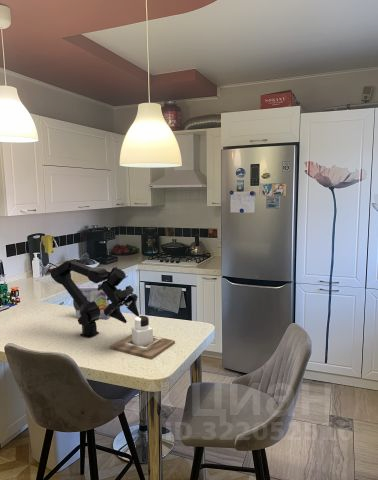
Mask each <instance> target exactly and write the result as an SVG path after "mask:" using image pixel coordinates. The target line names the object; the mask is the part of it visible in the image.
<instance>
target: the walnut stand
mask: <svg viewBox="0 0 378 480" xmlns="http://www.w3.org/2000/svg"><path fill="white" fill-rule="evenodd" d="M175 343H176V340H173V339H168V338H164V337H160V336H155V335H153V343H151V344H150V345H147V346H143V347H142V346H138V345H135V344H134V343H133V342H132V333H131V334H130V335H128V336H126V337H124V338H123V339H121V340H119V341H117V342H115V343H114V344H112V345H110V346H109V349H110V350H113V351H117V352H121V353H125V354H130V355H133V356H137V357H141V358H144V359H149V360H153V359H155V358H156V357H157V356H158V355H160V354H161V353H163V352H164V351H166V350H168V349H169V348H170V347H172V346H173V345H174V344H175Z"/></svg>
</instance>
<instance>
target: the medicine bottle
mask: <svg viewBox="0 0 378 480" xmlns="http://www.w3.org/2000/svg"><path fill="white" fill-rule="evenodd" d="M149 320H150V319H149V317H148V316H145V315H139V316H138V317H137V316H136V317H135V318H134V326H132V327H131V334H132V342H133V343H134V344H135V345H138V346H142V347H143V346H147V345H150V344H151V343H153V336H154V335H153V333H154V331H153V328H152V327H150V324H149V323H150V321H149Z"/></svg>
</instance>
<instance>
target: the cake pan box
mask: <svg viewBox="0 0 378 480" xmlns="http://www.w3.org/2000/svg"><path fill="white" fill-rule="evenodd" d="M76 286H77V287H78V288H79V289H80V291H81V292H82V293H83V295H84V296H85V297H86V299H87V300H88V301H90V302H93V301H94V302H95V303H96V304H97V305H98V306H99V309H100V316H99V319H100V320H101V319H102V320H103V319H104V320H107V319H109V318H110V317H109V315H108V316H106V315H105V314H104V309H105V308H106V307H107V306H108V305H109V304H110V300H107V298H108V297H107V296H106V294H105V293H104V292H103V290H100V291H98V285H95V284H92V285H91V284H89V285H85V284H84V285H79V284H78V285H77V284H76ZM72 299H73V298H72ZM72 304H73V308H74V310H75V316H76V317H75V318H76V319H79V318H80V317H81V314H80V307H79V306H78V305H77V303H76V302H75V301H74V299H73V300H72ZM99 319H98V320H99Z"/></svg>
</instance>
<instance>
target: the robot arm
mask: <svg viewBox="0 0 378 480" xmlns="http://www.w3.org/2000/svg"><path fill="white" fill-rule="evenodd" d="M71 272H74V273H77V274H79V275H82V276H85V277H87V278H88V280H89V281H90V282H92V283H94V284H98V283H99V284H98V285H97V286H98V291H100V290H103V292H104V293H105V294H106V296H107V297H108V298H107V300H109V302H111V303H109V305H108V306H107V307H106V308H105V309H104V314H105V315H106V316H108V315H109V318H110V317H111V318H114V319H115V320H117V321H120V322H121V323H123V324H127V322H128V321H127V319H126V318H125V316H124V315H123V313H122V311H121V307H123V306H125V307H126V309H127V310H128V311H130V313H132V314H133V315H135V316H136V317H138V316H140V312H139V309H138V307H137V301H138V298H139V296H138V295H137V294H136V293H133V292H134V288H133V286H131V285H128V286H127V285H126V286H125V289H123V290H122V289H121V288H117V287H118V286H119V285H120V284H121V283H122V282H123V281H124V280H125V278H126V273H125V271H124V270H122V269H120V268H118V267H117V266H115V267H112V269H111V270H110V271H109V270H107V269H106V268H101V267H92V266H88V265H86V264H84V263H82V262H78V261H76V260H75V259H69V260H66V261H64V262H63V263H61V264H60V265H57V266H56V267H53V268H52V269H51V270H50V277H51V278H52V279H53V281H54V282H56V283H58V284H60V285H62V286H63V287H64V289H65V290H66V292H67V293H68V294H69V296H71V298H72V299H74V301H75V302H76V303H77V305H78V306H79V307H80V314H81V317H80V318H77V322H78V325H81V333H80V334H79V336H82V337H85V338H88V339H89V338H92V337H95V336H96V335H98V334H99V333H100V332H99V331H98V330H97V329H98V327H97V326H98V325H97V321H99V316H100V309H99V306H98V305H97V304H96V303H95V302H94V301H93V302H90V301H88V300H87V299H86V297H85V296H84V295H83V293H82V292H81V291H80V289H79V288H78V287H77V284H76V283H75V282H74V280H73V279H72V273H71Z"/></svg>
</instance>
